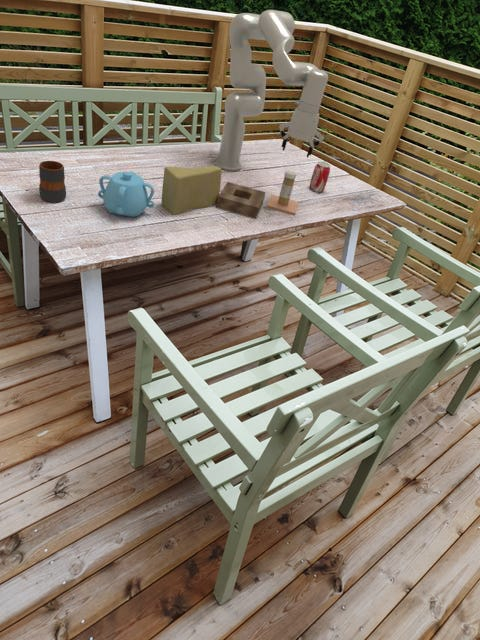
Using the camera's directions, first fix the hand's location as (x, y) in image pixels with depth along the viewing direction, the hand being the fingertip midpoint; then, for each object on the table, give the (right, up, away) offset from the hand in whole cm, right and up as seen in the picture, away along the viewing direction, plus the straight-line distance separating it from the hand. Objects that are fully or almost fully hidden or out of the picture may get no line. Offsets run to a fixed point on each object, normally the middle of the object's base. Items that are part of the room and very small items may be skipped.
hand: (295, 152), depth 187 cm
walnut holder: (-21, -19, +6) cm, 29 cm away
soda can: (+13, -5, +34) cm, 37 cm away
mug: (-87, -21, -18) cm, 91 cm away
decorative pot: (-62, -25, -15) cm, 69 cm away
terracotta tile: (-4, -17, +13) cm, 22 cm away
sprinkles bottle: (-4, -17, +13) cm, 21 cm away
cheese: (-40, -22, -3) cm, 45 cm away
